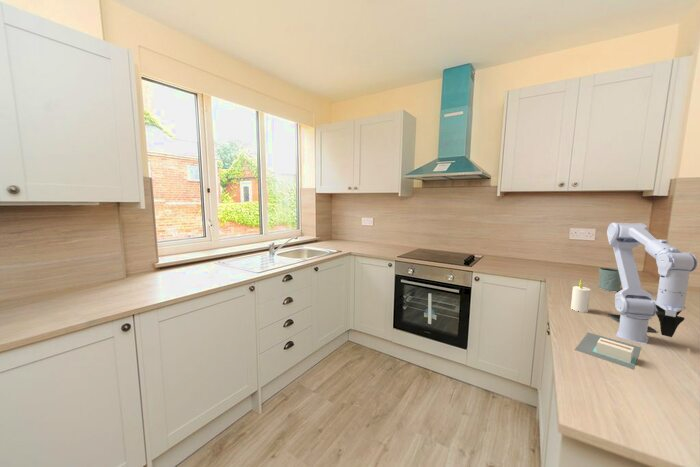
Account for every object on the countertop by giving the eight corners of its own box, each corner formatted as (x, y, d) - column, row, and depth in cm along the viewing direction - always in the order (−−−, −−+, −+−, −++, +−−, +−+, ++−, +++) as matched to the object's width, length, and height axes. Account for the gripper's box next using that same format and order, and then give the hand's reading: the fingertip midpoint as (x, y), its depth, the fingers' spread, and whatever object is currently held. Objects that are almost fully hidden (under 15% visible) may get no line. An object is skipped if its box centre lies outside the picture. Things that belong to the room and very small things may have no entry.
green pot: (623, 293, 152) (625, 272, 151) (599, 290, 157) (601, 270, 156) (618, 288, 160) (620, 268, 159) (595, 285, 166) (597, 266, 164)
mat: (587, 333, 104) (588, 332, 104) (640, 349, 94) (641, 347, 94) (574, 351, 92) (574, 349, 92) (633, 371, 81) (633, 369, 81)
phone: (634, 329, 107) (606, 313, 122) (633, 331, 107) (606, 316, 122) (658, 330, 106) (627, 315, 120) (657, 333, 106) (627, 317, 120)
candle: (592, 312, 126) (595, 280, 124) (580, 312, 125) (583, 281, 123) (578, 306, 132) (582, 276, 130) (567, 307, 131) (570, 277, 129)
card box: (632, 357, 87) (633, 347, 87) (630, 363, 84) (631, 352, 84) (599, 347, 93) (600, 337, 93) (595, 352, 90) (597, 341, 90)
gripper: (652, 283, 92) (647, 321, 94) (653, 292, 83) (647, 334, 84) (685, 287, 87) (679, 328, 89) (689, 298, 78) (683, 343, 79)
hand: (666, 331), depth 86 cm, fingers open, 7 cm apart
